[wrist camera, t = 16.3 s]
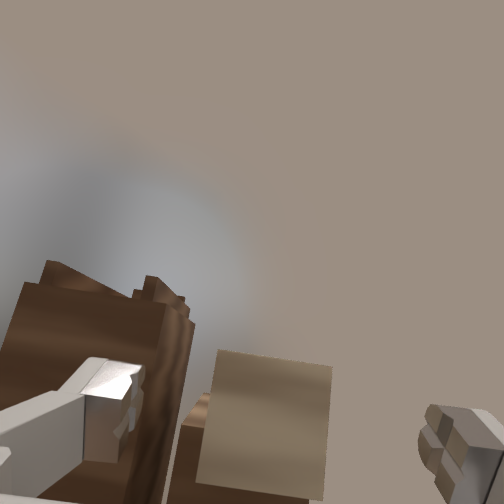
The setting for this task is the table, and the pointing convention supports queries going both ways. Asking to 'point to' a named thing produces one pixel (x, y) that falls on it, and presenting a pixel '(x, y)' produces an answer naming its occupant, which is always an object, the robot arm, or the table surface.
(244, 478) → the pine blank
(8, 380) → the brown wooden block
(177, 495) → the walnut step
